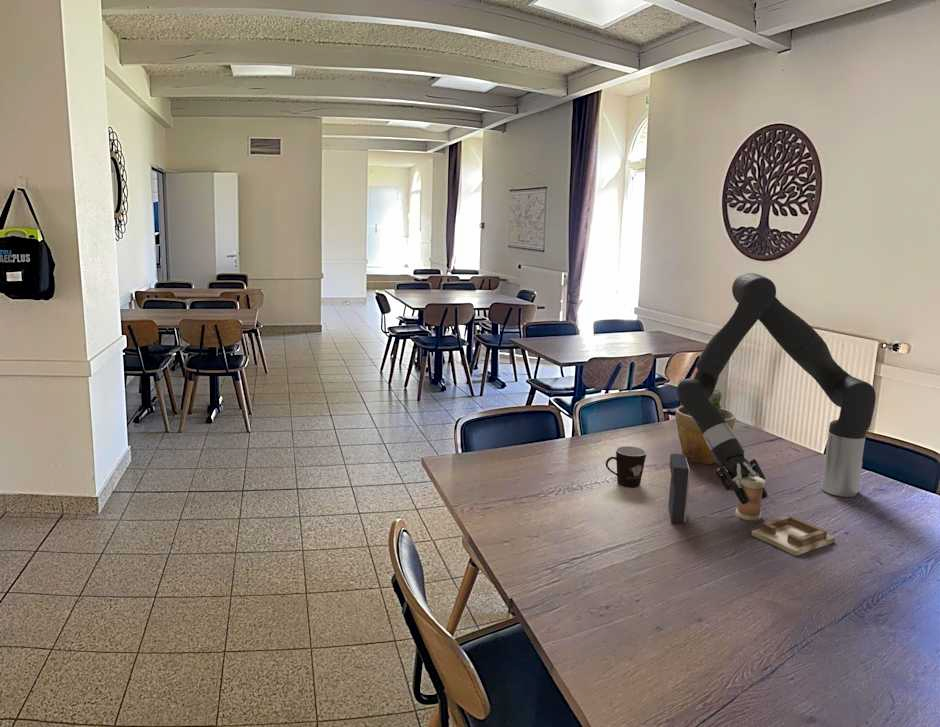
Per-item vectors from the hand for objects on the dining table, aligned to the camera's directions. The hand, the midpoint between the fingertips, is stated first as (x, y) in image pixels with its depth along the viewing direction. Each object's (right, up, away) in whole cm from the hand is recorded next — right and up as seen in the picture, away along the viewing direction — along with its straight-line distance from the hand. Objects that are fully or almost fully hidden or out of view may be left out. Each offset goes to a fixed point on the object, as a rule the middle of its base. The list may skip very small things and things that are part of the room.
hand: (755, 500), depth 179 cm
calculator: (-20, -4, +2) cm, 21 cm away
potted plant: (+1, +4, +46) cm, 46 cm away
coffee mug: (-29, 0, +22) cm, 37 cm away
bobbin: (-1, -5, +2) cm, 5 cm away
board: (+5, -7, -10) cm, 13 cm away
